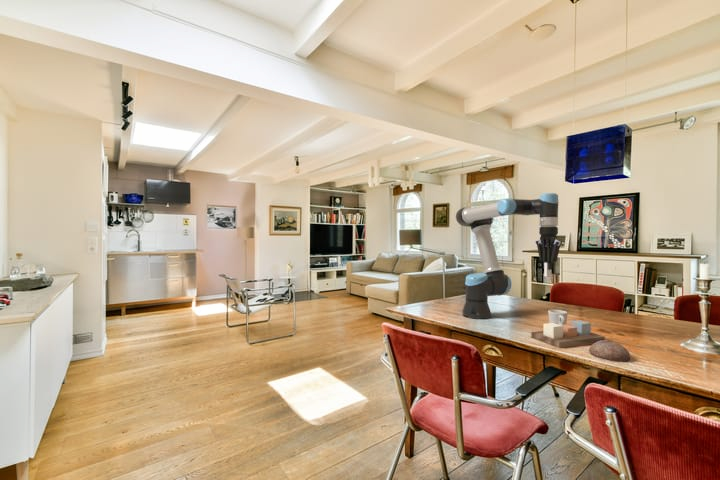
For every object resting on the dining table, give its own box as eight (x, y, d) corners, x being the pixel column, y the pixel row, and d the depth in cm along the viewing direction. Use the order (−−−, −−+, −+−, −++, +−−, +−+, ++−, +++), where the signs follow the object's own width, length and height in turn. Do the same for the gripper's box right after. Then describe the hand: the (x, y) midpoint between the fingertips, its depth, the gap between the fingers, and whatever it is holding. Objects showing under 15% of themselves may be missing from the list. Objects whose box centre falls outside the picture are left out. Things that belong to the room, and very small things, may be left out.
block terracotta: (557, 336, 138) (557, 325, 138) (566, 335, 140) (566, 324, 140) (567, 340, 134) (567, 328, 134) (577, 339, 135) (577, 327, 135)
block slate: (570, 332, 140) (570, 321, 140) (579, 331, 142) (579, 320, 142) (581, 335, 136) (581, 324, 136) (590, 334, 137) (590, 323, 137)
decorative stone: (581, 352, 123) (581, 338, 123) (605, 349, 126) (605, 335, 126) (612, 364, 111) (612, 348, 111) (638, 360, 114) (638, 345, 114)
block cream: (543, 335, 136) (543, 323, 136) (552, 334, 138) (552, 322, 138) (553, 339, 132) (553, 326, 132) (563, 337, 133) (563, 325, 133)
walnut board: (531, 337, 140) (531, 332, 140) (573, 332, 147) (574, 327, 147) (559, 348, 127) (559, 342, 127) (604, 342, 133) (604, 336, 133)
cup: (573, 332, 147) (573, 315, 147) (554, 331, 149) (554, 314, 149) (563, 326, 158) (563, 309, 158) (545, 325, 159) (545, 309, 159)
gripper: (531, 226, 156) (530, 274, 157) (553, 226, 143) (553, 278, 144) (543, 226, 158) (543, 274, 159) (567, 226, 145) (566, 277, 146)
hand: (547, 276), depth 151 cm, fingers closed
